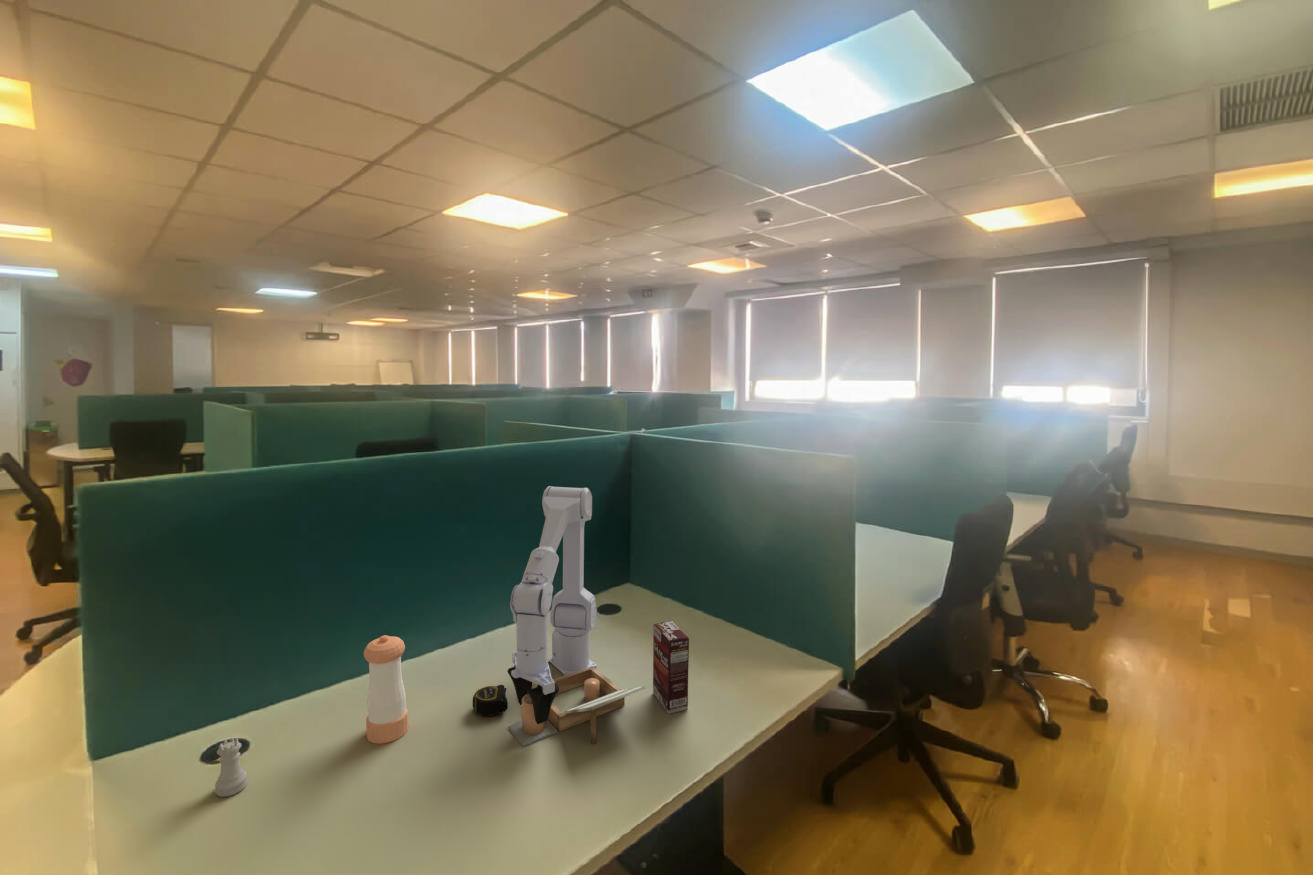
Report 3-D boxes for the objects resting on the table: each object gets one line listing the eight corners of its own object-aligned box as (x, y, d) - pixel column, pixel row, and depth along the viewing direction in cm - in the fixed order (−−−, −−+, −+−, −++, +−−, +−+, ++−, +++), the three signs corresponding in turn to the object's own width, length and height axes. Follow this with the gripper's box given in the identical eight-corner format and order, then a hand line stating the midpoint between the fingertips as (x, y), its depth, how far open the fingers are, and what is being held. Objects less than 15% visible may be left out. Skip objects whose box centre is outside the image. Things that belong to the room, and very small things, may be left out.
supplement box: (651, 693, 123) (652, 623, 122) (671, 688, 125) (673, 619, 124) (667, 715, 115) (668, 640, 114) (688, 710, 117) (690, 636, 116)
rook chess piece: (244, 775, 97) (240, 730, 96) (252, 787, 94) (249, 742, 93) (211, 789, 93) (208, 743, 92) (219, 802, 91) (216, 755, 90)
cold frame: (530, 700, 120) (530, 660, 119) (592, 678, 129) (592, 640, 128) (584, 757, 102) (584, 710, 101) (651, 727, 111) (651, 683, 110)
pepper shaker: (416, 723, 111) (413, 630, 109) (390, 747, 104) (386, 647, 102) (385, 717, 113) (382, 625, 111) (357, 739, 106) (353, 642, 104)
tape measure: (508, 716, 115) (508, 699, 114) (472, 722, 112) (472, 704, 112) (506, 698, 121) (506, 681, 121) (472, 703, 119) (472, 686, 119)
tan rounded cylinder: (581, 696, 122) (581, 681, 121) (594, 691, 124) (594, 676, 123) (589, 703, 119) (589, 687, 119) (602, 698, 121) (602, 683, 121)
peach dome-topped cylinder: (518, 727, 110) (517, 696, 110) (538, 718, 113) (538, 688, 112) (529, 738, 107) (528, 707, 106) (549, 728, 110) (549, 698, 109)
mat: (508, 727, 111) (508, 725, 111) (541, 715, 115) (541, 713, 115) (523, 746, 105) (523, 744, 105) (557, 732, 109) (557, 730, 109)
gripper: (497, 636, 111) (498, 701, 113) (528, 666, 100) (529, 738, 102) (530, 626, 116) (531, 689, 117) (564, 655, 104) (565, 724, 106)
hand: (532, 711), depth 110 cm, fingers open, 7 cm apart
